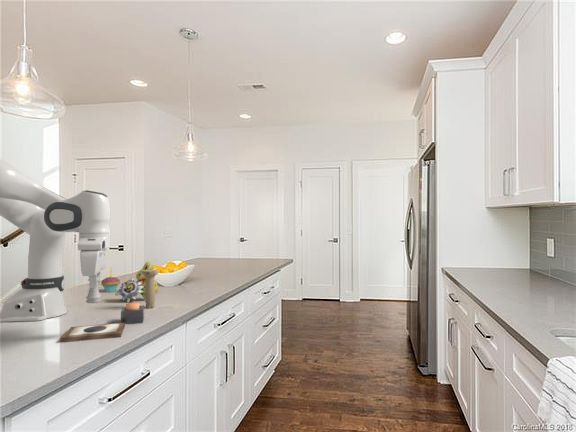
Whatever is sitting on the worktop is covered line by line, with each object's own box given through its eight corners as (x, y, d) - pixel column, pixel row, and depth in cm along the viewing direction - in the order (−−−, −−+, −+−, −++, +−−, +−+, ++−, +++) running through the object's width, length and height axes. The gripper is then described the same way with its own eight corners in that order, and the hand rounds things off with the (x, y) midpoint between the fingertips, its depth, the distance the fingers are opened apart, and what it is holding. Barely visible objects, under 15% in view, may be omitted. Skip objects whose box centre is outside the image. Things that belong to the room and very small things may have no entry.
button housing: (120, 324, 128) (120, 311, 128) (123, 319, 134) (123, 306, 134) (142, 322, 130) (142, 309, 130) (143, 317, 137) (143, 305, 137)
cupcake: (102, 290, 190) (103, 266, 190) (121, 289, 193) (121, 265, 193) (99, 293, 182) (100, 268, 182) (118, 292, 185) (119, 268, 185)
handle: (155, 309, 150) (155, 271, 150) (139, 308, 151) (139, 271, 151) (160, 306, 155) (160, 269, 155) (145, 305, 155) (145, 269, 156)
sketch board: (61, 342, 110) (61, 337, 110) (70, 330, 121) (70, 326, 121) (120, 336, 114) (120, 331, 114) (124, 326, 126) (124, 321, 126)
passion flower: (128, 314, 163) (110, 294, 159) (133, 304, 173) (116, 284, 170) (150, 299, 163) (133, 278, 160) (154, 290, 174) (137, 270, 171)
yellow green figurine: (138, 291, 188) (138, 261, 188) (160, 291, 187) (160, 261, 187) (132, 293, 181) (132, 262, 181) (154, 294, 180) (154, 262, 181)
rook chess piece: (104, 300, 120) (104, 275, 120) (97, 303, 115) (97, 277, 116) (89, 300, 120) (90, 275, 120) (82, 303, 115) (83, 277, 115)
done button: (125, 314, 129) (125, 305, 130) (126, 311, 134) (126, 303, 134) (139, 313, 131) (139, 305, 131) (139, 310, 135) (139, 302, 135)
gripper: (90, 240, 127) (90, 281, 127) (76, 244, 107) (76, 293, 107) (110, 240, 129) (110, 280, 129) (100, 244, 109) (100, 291, 109)
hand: (94, 286), depth 118 cm, fingers closed on rook chess piece, 3 cm apart
